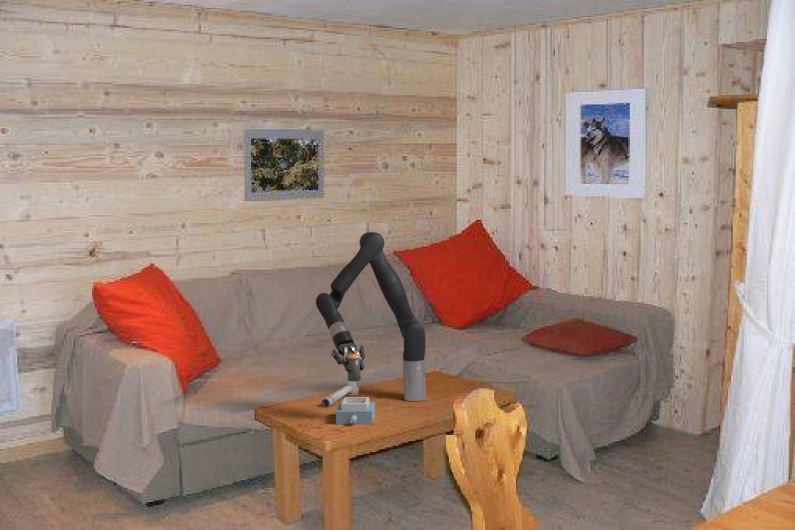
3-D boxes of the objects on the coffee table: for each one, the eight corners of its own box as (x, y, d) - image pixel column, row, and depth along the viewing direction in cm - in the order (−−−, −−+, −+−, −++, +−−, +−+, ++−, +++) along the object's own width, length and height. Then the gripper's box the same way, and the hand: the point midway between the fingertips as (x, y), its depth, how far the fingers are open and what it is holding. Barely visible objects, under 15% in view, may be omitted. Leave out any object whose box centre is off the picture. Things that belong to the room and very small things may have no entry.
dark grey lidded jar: (361, 378, 354) (360, 353, 352) (360, 381, 348) (359, 356, 347) (348, 378, 354) (347, 353, 353) (346, 381, 349) (345, 356, 347)
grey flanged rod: (319, 398, 372) (350, 377, 394) (321, 412, 374) (351, 391, 395) (330, 399, 370) (360, 378, 391) (331, 414, 371) (361, 392, 393)
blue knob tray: (375, 414, 359) (374, 395, 358) (371, 426, 342) (370, 407, 341) (340, 414, 360) (340, 396, 359) (335, 426, 343) (334, 407, 342)
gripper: (327, 332, 352) (342, 367, 343) (359, 327, 359) (375, 362, 350) (322, 343, 357) (337, 378, 348) (353, 338, 364) (369, 373, 355)
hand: (356, 370), depth 349 cm, fingers closed on dark grey lidded jar, 5 cm apart
